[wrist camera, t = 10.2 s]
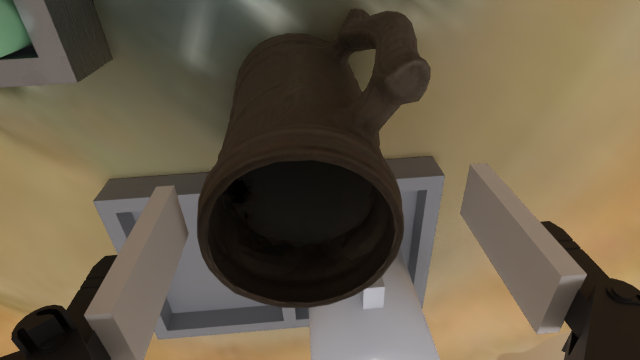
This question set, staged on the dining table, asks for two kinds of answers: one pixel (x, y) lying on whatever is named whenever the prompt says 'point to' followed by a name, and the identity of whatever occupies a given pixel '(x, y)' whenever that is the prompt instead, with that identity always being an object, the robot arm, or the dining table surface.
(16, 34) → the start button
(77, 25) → the grey square hollow block
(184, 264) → the tray
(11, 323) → the dining table surface
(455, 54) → the dining table surface
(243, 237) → the beer stein
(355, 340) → the white piece
